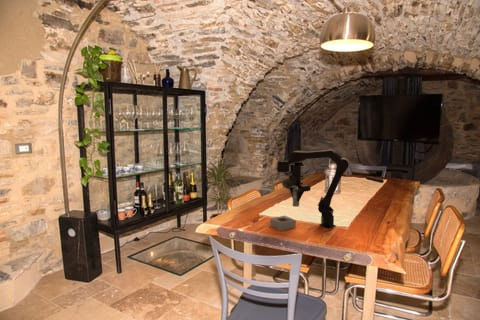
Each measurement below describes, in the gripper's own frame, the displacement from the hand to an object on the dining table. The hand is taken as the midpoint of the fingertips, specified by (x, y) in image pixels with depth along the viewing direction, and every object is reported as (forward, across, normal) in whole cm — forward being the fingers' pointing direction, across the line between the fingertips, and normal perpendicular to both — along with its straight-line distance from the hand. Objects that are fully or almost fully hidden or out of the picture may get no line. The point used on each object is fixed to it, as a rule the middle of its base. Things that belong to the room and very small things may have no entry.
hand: (295, 200), depth 182 cm
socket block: (+13, +1, -10) cm, 16 cm away
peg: (+3, 0, 0) cm, 3 cm away
